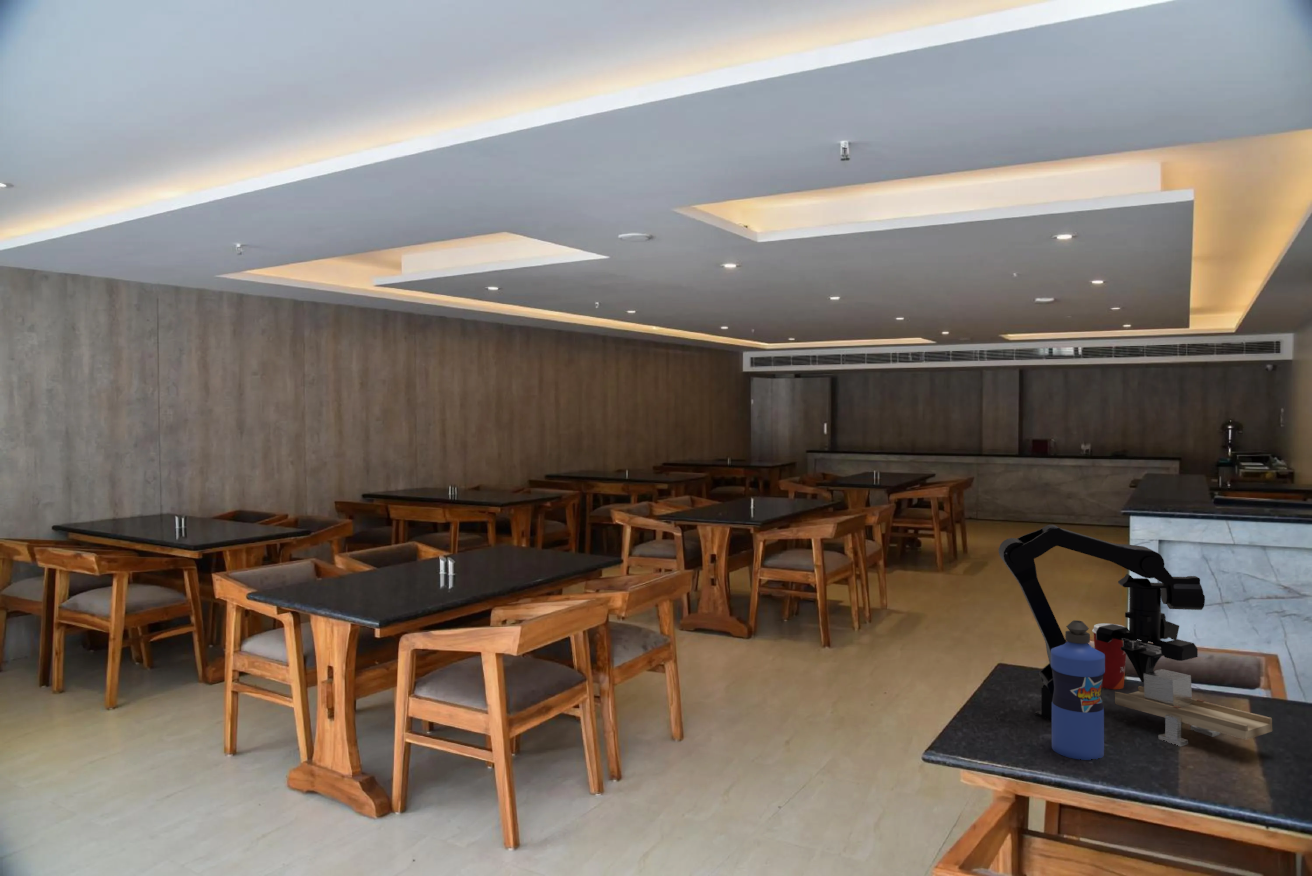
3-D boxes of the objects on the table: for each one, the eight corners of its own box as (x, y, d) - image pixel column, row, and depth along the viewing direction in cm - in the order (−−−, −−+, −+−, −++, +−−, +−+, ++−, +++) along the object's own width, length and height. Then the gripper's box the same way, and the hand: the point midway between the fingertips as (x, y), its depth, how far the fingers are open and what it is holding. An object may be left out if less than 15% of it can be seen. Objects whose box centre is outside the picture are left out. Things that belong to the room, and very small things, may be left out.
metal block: (1173, 710, 172) (1172, 680, 172) (1144, 702, 177) (1143, 673, 177) (1192, 705, 175) (1190, 675, 175) (1162, 697, 180) (1161, 669, 180)
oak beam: (1245, 744, 158) (1245, 725, 158) (1115, 708, 182) (1114, 691, 182) (1272, 735, 162) (1271, 717, 162) (1141, 701, 186) (1140, 684, 186)
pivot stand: (1180, 746, 167) (1180, 721, 167) (1158, 739, 171) (1158, 714, 171) (1219, 734, 173) (1219, 710, 173) (1197, 727, 177) (1197, 703, 177)
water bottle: (1116, 758, 163) (1116, 626, 162) (1070, 762, 161) (1070, 629, 160) (1083, 739, 172) (1083, 614, 171) (1040, 743, 170) (1040, 617, 169)
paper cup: (1135, 690, 200) (1135, 630, 199) (1101, 691, 200) (1101, 631, 200) (1118, 680, 208) (1118, 622, 207) (1085, 680, 208) (1085, 622, 207)
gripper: (1214, 612, 175) (1213, 688, 176) (1127, 595, 192) (1127, 665, 192) (1180, 619, 170) (1180, 698, 171) (1094, 601, 187) (1094, 673, 187)
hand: (1144, 682), depth 180 cm, fingers closed
